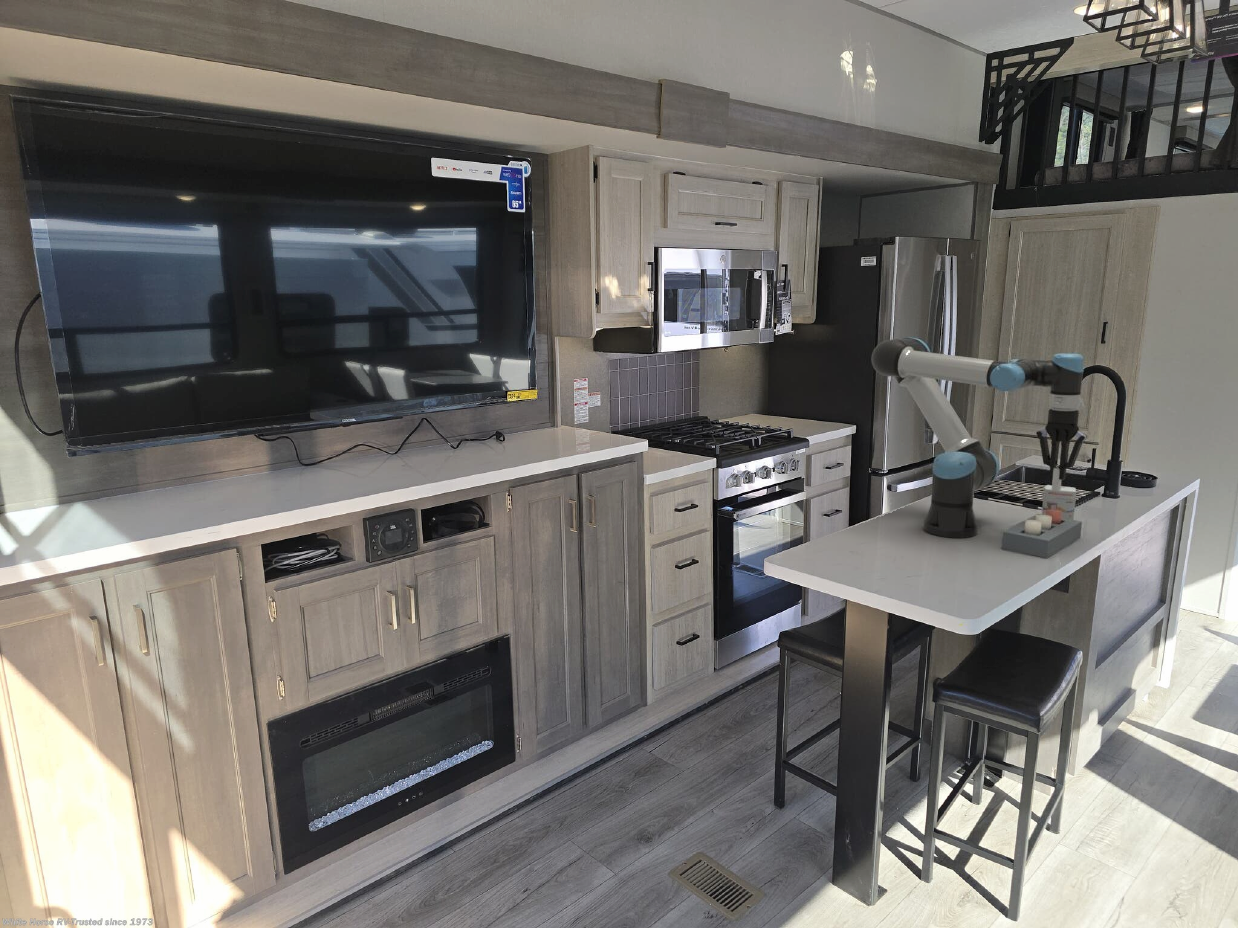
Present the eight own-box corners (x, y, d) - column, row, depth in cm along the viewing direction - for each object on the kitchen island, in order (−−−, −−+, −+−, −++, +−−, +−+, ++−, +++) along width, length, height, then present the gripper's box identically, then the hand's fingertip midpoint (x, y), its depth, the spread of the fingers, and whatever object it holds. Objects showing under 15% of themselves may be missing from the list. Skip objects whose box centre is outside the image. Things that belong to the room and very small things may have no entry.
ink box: (1040, 525, 241) (1044, 488, 239) (1040, 521, 246) (1044, 484, 243) (1072, 528, 237) (1076, 490, 235) (1072, 524, 242) (1076, 487, 239)
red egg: (1057, 529, 226) (1058, 513, 225) (1042, 527, 229) (1044, 511, 228) (1062, 526, 229) (1064, 511, 228) (1047, 524, 232) (1049, 508, 231)
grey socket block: (1046, 558, 212) (1048, 540, 211) (1001, 548, 221) (1002, 531, 220) (1080, 537, 228) (1081, 521, 227) (1036, 529, 237) (1038, 513, 236)
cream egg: (1047, 535, 221) (1048, 519, 220) (1032, 532, 224) (1033, 516, 223) (1052, 532, 224) (1054, 516, 223) (1037, 529, 227) (1039, 513, 226)
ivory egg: (1036, 541, 216) (1038, 524, 215) (1021, 538, 219) (1022, 521, 218) (1042, 538, 219) (1043, 521, 218) (1027, 535, 222) (1028, 518, 221)
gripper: (1034, 408, 224) (1027, 488, 229) (1084, 412, 214) (1076, 496, 219) (1044, 405, 229) (1037, 483, 234) (1094, 409, 219) (1085, 491, 224)
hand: (1056, 489), depth 226 cm, fingers closed
